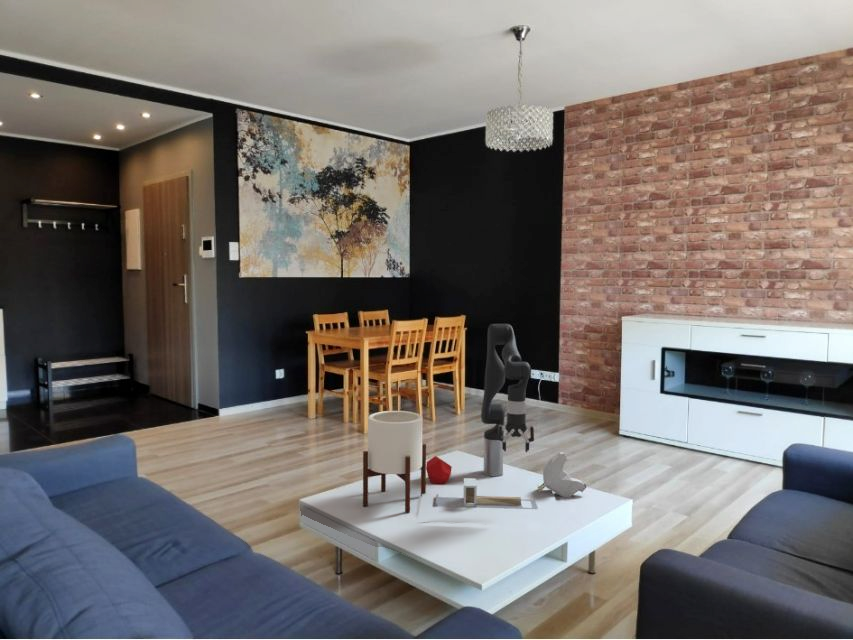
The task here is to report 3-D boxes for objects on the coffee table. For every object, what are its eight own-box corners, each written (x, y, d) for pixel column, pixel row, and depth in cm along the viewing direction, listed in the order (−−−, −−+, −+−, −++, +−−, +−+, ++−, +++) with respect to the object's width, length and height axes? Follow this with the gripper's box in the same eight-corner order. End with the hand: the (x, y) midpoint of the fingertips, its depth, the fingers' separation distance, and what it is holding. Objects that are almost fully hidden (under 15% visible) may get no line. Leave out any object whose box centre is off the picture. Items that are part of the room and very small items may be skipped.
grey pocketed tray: (435, 500, 250) (436, 477, 249) (534, 503, 248) (535, 479, 247) (435, 509, 240) (435, 485, 239) (538, 512, 238) (538, 488, 237)
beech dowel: (476, 501, 245) (476, 495, 245) (520, 502, 244) (520, 497, 244) (476, 503, 243) (476, 497, 243) (520, 504, 242) (521, 499, 242)
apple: (427, 490, 267) (418, 469, 280) (452, 489, 271) (443, 469, 284) (431, 468, 263) (423, 448, 276) (457, 468, 267) (447, 448, 280)
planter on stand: (381, 489, 263) (381, 408, 261) (429, 495, 256) (429, 413, 253) (358, 507, 242) (358, 420, 240) (410, 514, 235) (411, 425, 232)
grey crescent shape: (543, 506, 255) (589, 493, 254) (531, 464, 254) (576, 451, 253) (541, 500, 262) (585, 487, 261) (528, 459, 261) (573, 446, 260)
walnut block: (464, 500, 246) (465, 483, 246) (474, 500, 246) (474, 484, 246) (464, 504, 242) (465, 487, 242) (474, 504, 242) (475, 487, 242)
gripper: (533, 409, 242) (532, 449, 243) (498, 408, 244) (497, 448, 245) (535, 413, 235) (534, 454, 236) (498, 412, 236) (498, 453, 237)
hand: (515, 451), depth 240 cm, fingers open, 8 cm apart
